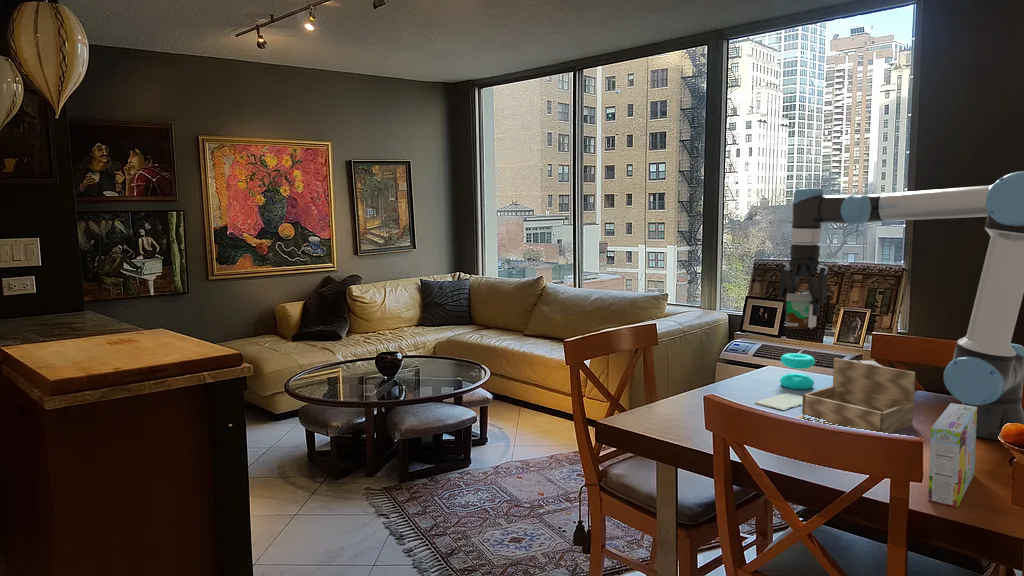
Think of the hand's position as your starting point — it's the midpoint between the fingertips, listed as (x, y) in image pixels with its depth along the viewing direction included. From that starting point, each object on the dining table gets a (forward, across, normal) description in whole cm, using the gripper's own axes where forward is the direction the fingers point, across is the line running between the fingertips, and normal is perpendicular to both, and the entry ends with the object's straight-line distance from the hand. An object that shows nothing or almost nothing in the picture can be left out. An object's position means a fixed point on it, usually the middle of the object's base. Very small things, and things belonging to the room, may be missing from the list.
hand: (800, 324), depth 193 cm
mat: (+24, +4, 0) cm, 24 cm away
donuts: (+24, +12, -19) cm, 33 cm away
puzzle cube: (+24, -6, -24) cm, 34 cm away
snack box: (+23, -51, +27) cm, 63 cm away
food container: (+1, -1, 0) cm, 1 cm away
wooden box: (+23, -17, +3) cm, 29 cm away
